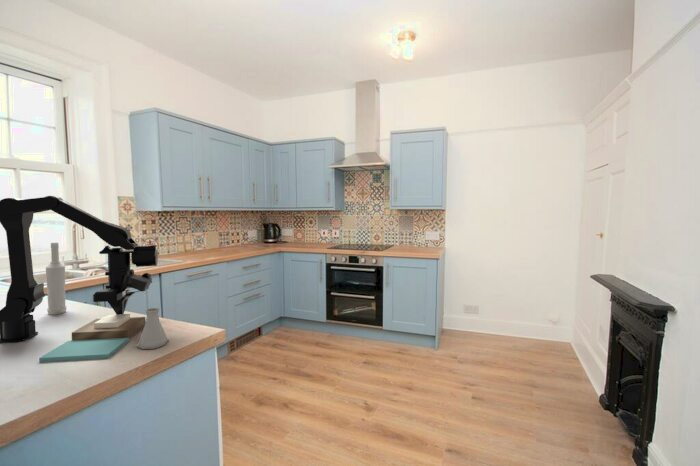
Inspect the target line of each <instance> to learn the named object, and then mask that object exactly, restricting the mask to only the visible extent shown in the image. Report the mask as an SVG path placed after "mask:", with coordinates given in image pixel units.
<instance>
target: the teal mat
mask: <svg viewBox="0 0 700 466" xmlns="http://www.w3.org/2000/svg"><path fill="white" fill-rule="evenodd" d="M129 342H130V339H129V338H112V339H91V340H72V339H71V340H67V341H65V342H64V343H62V344H60V345H59V346H57V347H56V348H54V349H52V350H50V351H48V352H46V353H45V354H44V355H42V356H40V357H39V358H38V359H39V360H38V361H39V363H44V362H45V363H46V362H61V361H62V362H64V361H81V360H82V361H83V360H96V359H97V360H98V359H109V358H110V357H112V356H113V355H114V354H115V353H116V352H118V351H119V350H120V349H122V348H123V347H124V346H125V345H126V344H128V343H129Z"/></svg>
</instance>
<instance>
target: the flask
mask: <svg viewBox="0 0 700 466" xmlns="http://www.w3.org/2000/svg"><path fill="white" fill-rule="evenodd" d="M144 311H145V313H146V317H145V319H146V323H145V326H144V328H143V329H142V332H141V334H140V337H139V339H138V342H137V345H136V348H139V349H141V350H154V349H157V348H159V347H160V348H161V347H163V346H165V345H166V344H167V343H169V339H168V336H167V333H165V330H164V328H163V326H162V324H161V322H160V317H159V311H160V308H158V307H150V308H147V309H145V310H144Z"/></svg>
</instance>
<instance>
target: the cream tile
mask: <svg viewBox="0 0 700 466" xmlns="http://www.w3.org/2000/svg"><path fill="white" fill-rule="evenodd" d="M130 318H131V314H130V313H124V314H116V313H115V314H107V315H106V316H104V317H102V318H99V319H100V320H98V321H97V322H95V323H94V328H113V327H118V326H120V325H121V324H123V323H124V322H126V321H127V320H129V319H130Z"/></svg>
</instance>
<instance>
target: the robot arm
mask: <svg viewBox="0 0 700 466" xmlns="http://www.w3.org/2000/svg"><path fill="white" fill-rule="evenodd" d="M48 211H52V212H54V213H56V214H58V215H60V216H62V217H64V218H66V219H68V220H69V221H72V222H74V223H76V224H77V225H80V226H82V227H83V228H86V229H87V230H90V231H91V232H93V233H94V234H95V235H96V236H97V237H99V238H100V240H102V241H103V242H105V243H106V244H108V245H105V246H104V247H103V249H102V250H100V251H99V254H100V255H107V271H105V272H104V275H105V276H107V277H108V279H107V280H108V284H105V288H102V289H100V290H97V291H96V292H94V294H92V302H93V303H94V302H95V303H101V302H103V303H104V302H105V303H108V304H109V306H110V307H111V308H112V309H113V311H114V313H115V314H125V311H126V308H127V304H128V301H129V298H131V297H132V296H133V295H134V294H135V293H136V292H135V291H131V290H130V288H131V289H133V290H138V292H145V291H146V290H148V289H150V285H151V284H152V283H153V281H152V280H153V278H152V276H151V275H152V274H151V273H148V272H145V273H143V274H142V275H141V274H135V270H134V269H132V268H131V263H132V265H133V266H134V265H135V266H136V268H138V267H140V268H141V267H142V268H143V267H157V266H158V262H159V261H158V260H159V259H158V255H159V254H158V249H157V245H156V244H151V245H139V244H138V243H137V242H136V241H135V240H134V239H133V238H132V234H131V231H130V230H129V229H128V228H126V227H124V226H122V225H117V224H115V223H111V222H108V221H105V220H103V219H101V218H99V217H96V216H94V215H93V214H90V213H89V212H87V211H85V210H83V209H82V208H79V207H78V206H76V205H74V204H72V203H70V202H68V201H66V200H64V199H63V198H61V197H60V196H58V195H46V196H44V197H43V196H41V197H35V198H27V199H26V198H14V197H13V198H12V197H7V198H2V199H1V200H0V225H1V226H2V228H3V229H4V230H5V234H6V244H7V252H8V254H7V255H8V262H9V271H10V279H11V280H10V281H11V282H10V284H9V288H8V290H7V292H6V300H5V306H4V307H2V308H1V309H0V343H13V342H15V343H17V342H23V341H24V342H25V341H26V340H28V339H30V338H32V337H34V336H36V335H38V334H39V332H38V331H36V320H35V319H34V314H31V313H34V312H35V309H36V308H37V307H38V306H39V305H40V304H41V303H42V302H43V300H44V297H46V295H47V294H45V291H44V288H45V284H44V282H41V283H37V281H36V280H35V278H34V268H33V259H32V249H31V248H32V247H31V238H30V228H31V225H32V223H33V219H34V214H37V213H43V212H48Z"/></svg>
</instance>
